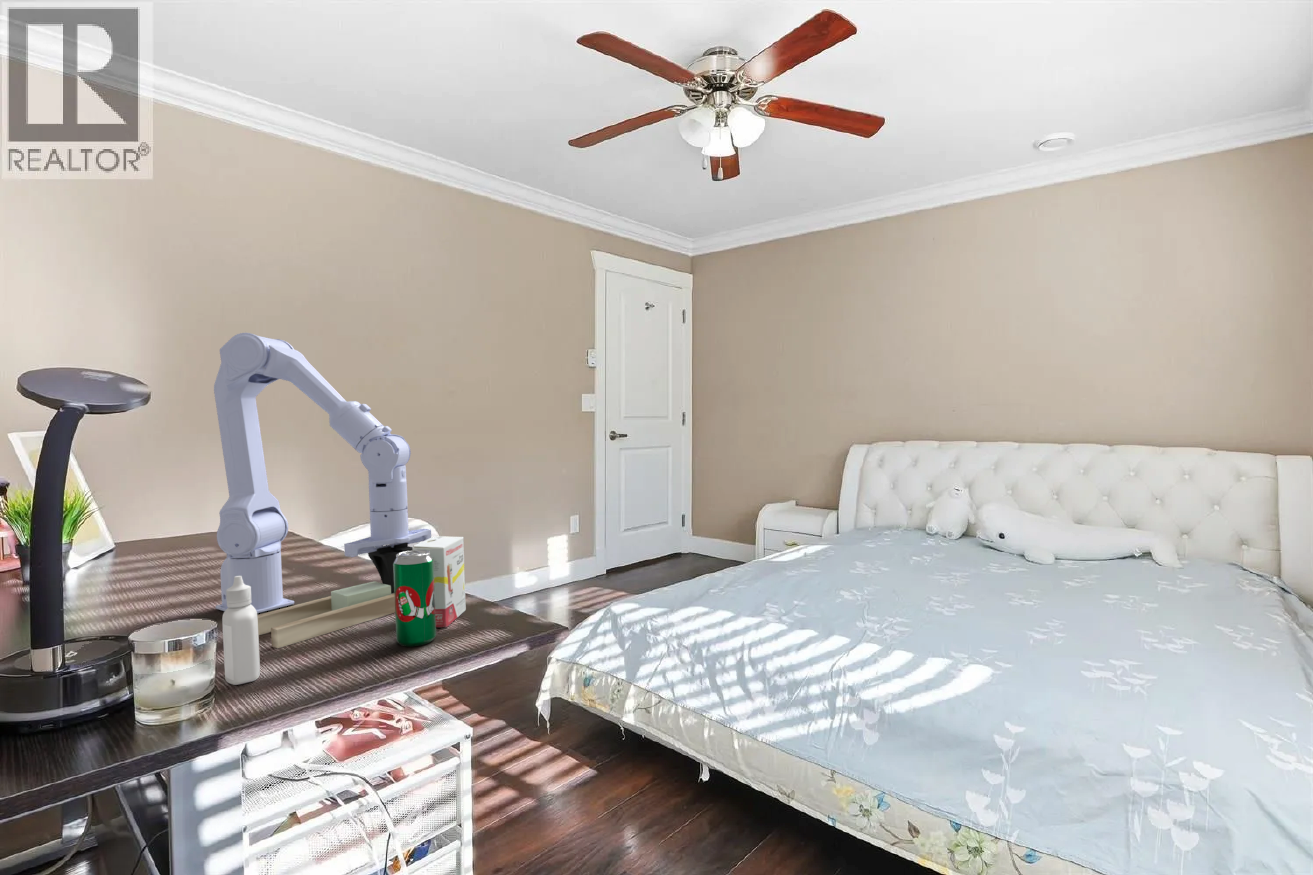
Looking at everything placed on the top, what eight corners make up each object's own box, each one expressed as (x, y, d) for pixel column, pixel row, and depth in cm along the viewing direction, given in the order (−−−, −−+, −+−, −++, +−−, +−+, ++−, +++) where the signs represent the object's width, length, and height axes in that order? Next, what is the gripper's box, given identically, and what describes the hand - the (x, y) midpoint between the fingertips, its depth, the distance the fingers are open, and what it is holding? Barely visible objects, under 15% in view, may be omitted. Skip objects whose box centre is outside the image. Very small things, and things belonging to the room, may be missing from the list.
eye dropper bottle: (210, 688, 72) (204, 583, 72) (233, 669, 78) (229, 572, 77) (252, 684, 73) (247, 581, 72) (272, 666, 78) (268, 569, 78)
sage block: (331, 617, 98) (330, 591, 98) (375, 605, 104) (374, 581, 104) (348, 622, 95) (346, 596, 95) (391, 610, 101) (390, 585, 101)
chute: (243, 636, 90) (242, 618, 90) (373, 599, 106) (372, 585, 106) (277, 648, 84) (277, 629, 84) (409, 608, 101) (408, 592, 101)
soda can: (426, 632, 89) (423, 547, 89) (443, 640, 86) (439, 552, 85) (390, 641, 86) (386, 553, 85) (406, 651, 82) (402, 559, 82)
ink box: (446, 628, 91) (443, 546, 90) (413, 628, 91) (409, 546, 91) (467, 610, 99) (465, 535, 99) (436, 610, 100) (433, 535, 99)
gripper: (361, 517, 95) (365, 607, 96) (441, 504, 107) (444, 584, 108) (335, 514, 99) (338, 600, 100) (415, 502, 111) (418, 579, 112)
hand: (392, 591), depth 104 cm, fingers closed
